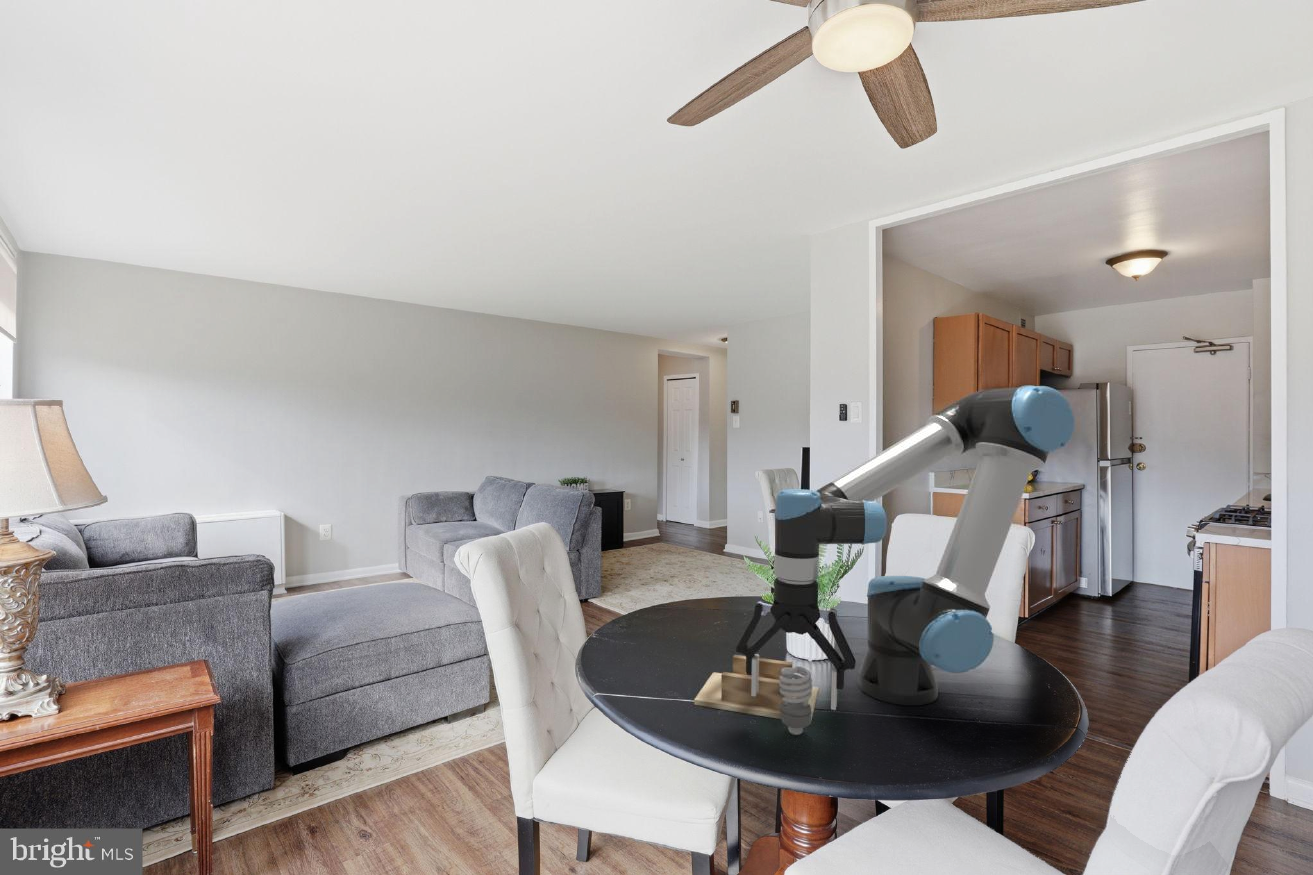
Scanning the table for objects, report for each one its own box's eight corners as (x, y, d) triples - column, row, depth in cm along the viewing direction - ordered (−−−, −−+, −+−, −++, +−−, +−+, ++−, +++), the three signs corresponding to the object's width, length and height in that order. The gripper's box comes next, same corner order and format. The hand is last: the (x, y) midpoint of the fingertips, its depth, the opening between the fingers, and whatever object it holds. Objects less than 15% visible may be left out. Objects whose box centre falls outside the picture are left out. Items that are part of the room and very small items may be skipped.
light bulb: (807, 726, 111) (807, 660, 110) (816, 743, 105) (816, 673, 105) (775, 727, 110) (776, 661, 110) (783, 743, 105) (783, 673, 105)
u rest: (818, 692, 125) (818, 662, 125) (810, 723, 112) (810, 691, 112) (713, 676, 133) (713, 649, 132) (694, 704, 119) (694, 674, 119)
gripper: (872, 581, 106) (869, 702, 107) (730, 567, 115) (728, 679, 115) (871, 591, 99) (868, 722, 100) (720, 576, 108) (718, 696, 108)
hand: (793, 699), depth 108 cm, fingers open, 13 cm apart
